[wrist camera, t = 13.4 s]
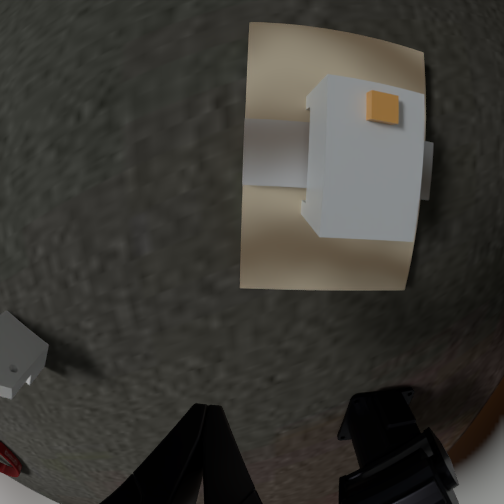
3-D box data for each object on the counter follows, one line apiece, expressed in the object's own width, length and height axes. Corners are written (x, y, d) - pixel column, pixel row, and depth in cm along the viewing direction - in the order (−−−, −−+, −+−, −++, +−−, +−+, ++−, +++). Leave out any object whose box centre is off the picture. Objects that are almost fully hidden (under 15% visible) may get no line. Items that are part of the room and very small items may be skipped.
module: (373, 218, 17) (419, 245, 12) (300, 213, 17) (322, 241, 12) (381, 107, 15) (431, 92, 10) (306, 96, 15) (331, 70, 9)
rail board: (395, 281, 20) (410, 296, 17) (240, 278, 20) (239, 295, 17) (412, 57, 15) (430, 48, 12) (249, 31, 15) (249, 15, 12)
